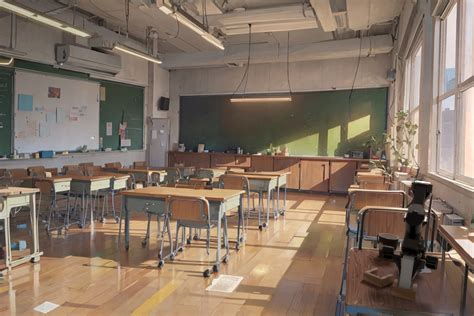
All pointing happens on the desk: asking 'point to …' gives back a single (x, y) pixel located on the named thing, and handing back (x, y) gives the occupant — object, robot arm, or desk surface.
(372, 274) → the end cap
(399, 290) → the end cap
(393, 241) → the coffee mug
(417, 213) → the robot arm
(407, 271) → the slat
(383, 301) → the desk surface
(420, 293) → the desk surface
